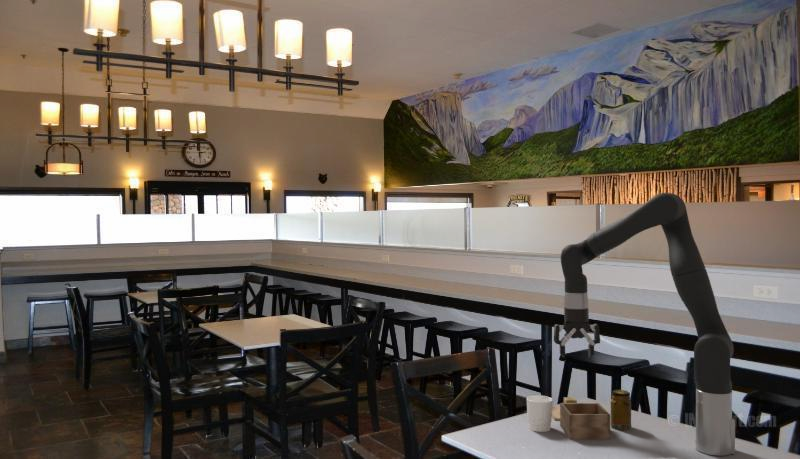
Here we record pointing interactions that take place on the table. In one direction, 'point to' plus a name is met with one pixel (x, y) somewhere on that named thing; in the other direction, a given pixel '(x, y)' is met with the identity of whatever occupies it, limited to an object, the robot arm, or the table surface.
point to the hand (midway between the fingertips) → (577, 356)
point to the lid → (557, 409)
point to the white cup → (539, 413)
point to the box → (584, 421)
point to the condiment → (621, 410)
